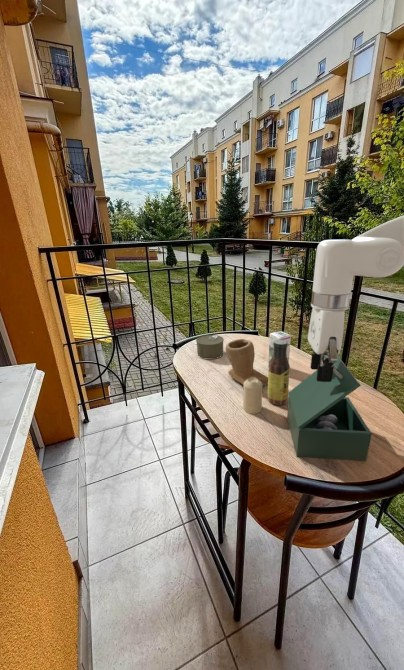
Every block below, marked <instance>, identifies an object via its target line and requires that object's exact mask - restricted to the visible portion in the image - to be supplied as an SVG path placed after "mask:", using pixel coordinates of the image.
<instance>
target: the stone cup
mask: <svg viewBox="0 0 404 670" xmlns="http://www.w3.org/2000/svg"><path fill="white" fill-rule="evenodd" d="M225 354H226V357H227V359H228V361H229V363H230V365H231V369H229V370H228V375H229V376H230V377H231V378H232V379H234V380H235V381H237V382H238V383H240V384H241V385H242V386H244V382H245V381H246V380H247V379H250V378H251V377H254V378H257V379H258V380H259V381H260V382H262V387H263V386H265V385H268V376H267V375H265V374H264V373H261V372H260V371H259V370H256V369H255V368H254V364H255V363H254V362H255V354H256V353H255V346H254V344H253V342H252V340H249V339H245V338H237V339H234V340H231V341H229V342H227V344H226V345H225Z"/></svg>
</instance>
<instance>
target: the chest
mask: <svg viewBox="0 0 404 670" xmlns="http://www.w3.org/2000/svg"><path fill="white" fill-rule="evenodd" d="M287 401H288V404H287V413H286V414H287V415H286V420H287V424H288V428H289V431H290V432H289V433H290V436H291V441H292V445H293V448H294V452H295V456H296V458H297V457H298V458H299V457H300V458H313V459H329V460H345V461H359V462H360V461H361V462H366V461H367V458H368V455H369V449H370V444H371V439H372V432H371V430H370V429H369V427H368V426H367V424H366V423H365V421H364V419H363V417H362V416H361V415H360V413H359V411H358V410H357V408H356V406H355V405H354V404H353V402H352V401H351V399H350V397H349V396H348V397H347V396H346V397H344V398H343V399H342V400H340V401H339V402H337V403H336V404H335V405H333V406H332V407H331V408H329V409H328V410H326V411H325V412H324V413H322V414H321V415H319V416H318V417H317V418H315V419H314V420H313V421H311V422H310V423H308V424H307V425H306V426H304V427H303V428H301V429H300V428H299V427H298V425H297V421H296V418H295V415H294V411H293V408H292V404H291V401H290V397H289V396H288V400H287ZM326 415H335V416H336V418H338V420H337V423H335V424H334V425H335V426H336V427H337V430H332V429H315V428H316V425H317V424H316V419H318V418H319V417H321V416H326Z"/></svg>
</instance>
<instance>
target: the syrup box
mask: <svg viewBox="0 0 404 670" xmlns="http://www.w3.org/2000/svg"><path fill="white" fill-rule="evenodd" d="M291 337H292V336H291V334H288V333H287V332H284V331H281V330H278V331H274V332H270V333H269V339H268V341H269V342H268V366H267V368H269V362H270V360H271V358H272V357H273V356H274V355H273V353H274V346H273V343H274V341H275V340H284V341H287V343H288V346H287V351H286V354H287V355H286V356H287V359H288V363H289V364H290V352H291V339H292V338H291Z"/></svg>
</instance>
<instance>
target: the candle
mask: <svg viewBox="0 0 404 670" xmlns="http://www.w3.org/2000/svg"><path fill="white" fill-rule="evenodd" d="M242 398H243V399H242V401H243V402H242V408H243V410H244V411H245V412H246V413H249V414H257V413H260V412H261V411H262V408H263V407H262V406H263V386H262V382H260V381H259V380H258V379H257V378H254V377H251V378H250V379H247V380H246V381H245V382H244V385H243V396H242Z"/></svg>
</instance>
